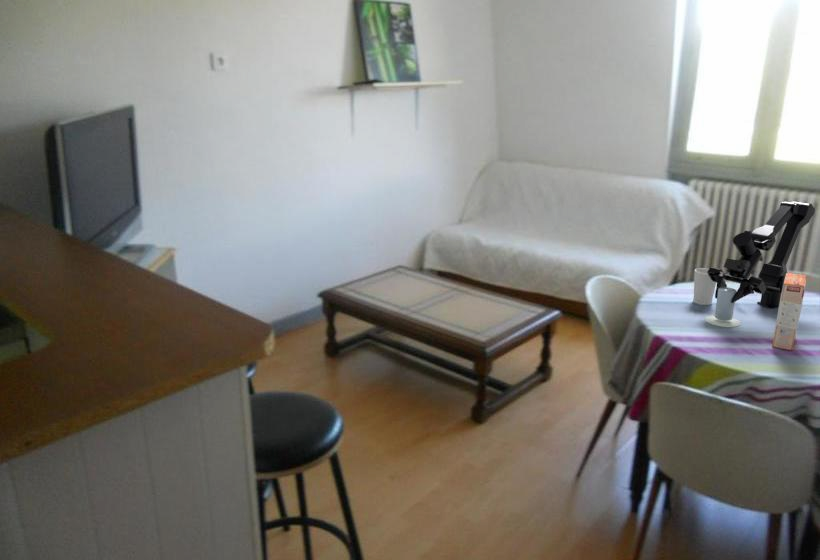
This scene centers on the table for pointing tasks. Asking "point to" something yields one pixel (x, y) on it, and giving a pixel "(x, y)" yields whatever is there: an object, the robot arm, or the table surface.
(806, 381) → the table surface
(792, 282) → the cracker box
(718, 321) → the mat
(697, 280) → the cup
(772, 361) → the table surface
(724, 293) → the grey cylinder
